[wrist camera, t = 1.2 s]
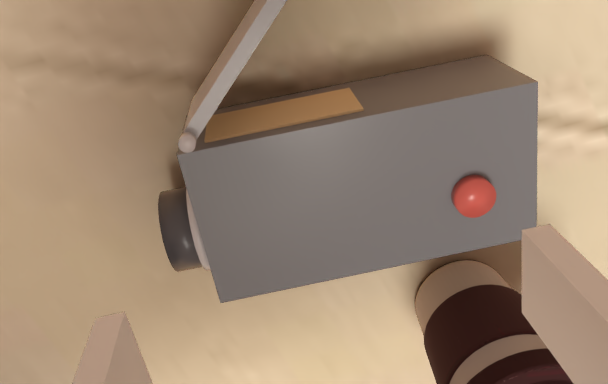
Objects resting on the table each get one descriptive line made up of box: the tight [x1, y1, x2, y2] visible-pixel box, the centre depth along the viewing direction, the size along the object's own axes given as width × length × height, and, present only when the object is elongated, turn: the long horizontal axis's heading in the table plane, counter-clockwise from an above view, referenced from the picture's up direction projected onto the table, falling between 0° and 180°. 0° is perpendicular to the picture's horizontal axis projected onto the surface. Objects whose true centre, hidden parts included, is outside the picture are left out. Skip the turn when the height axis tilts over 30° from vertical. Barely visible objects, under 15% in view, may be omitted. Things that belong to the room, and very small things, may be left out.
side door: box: [184, 0, 287, 140], centre depth 31 cm, size 10×1×6 cm, turn 145°
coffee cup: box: [415, 260, 574, 384], centre depth 39 cm, size 10×10×15 cm
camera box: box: [158, 55, 538, 303], centre depth 35 cm, size 22×11×8 cm, turn 100°
